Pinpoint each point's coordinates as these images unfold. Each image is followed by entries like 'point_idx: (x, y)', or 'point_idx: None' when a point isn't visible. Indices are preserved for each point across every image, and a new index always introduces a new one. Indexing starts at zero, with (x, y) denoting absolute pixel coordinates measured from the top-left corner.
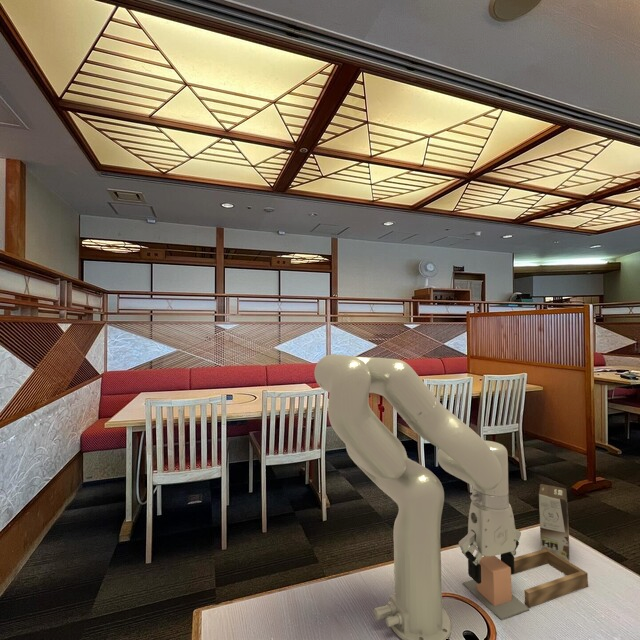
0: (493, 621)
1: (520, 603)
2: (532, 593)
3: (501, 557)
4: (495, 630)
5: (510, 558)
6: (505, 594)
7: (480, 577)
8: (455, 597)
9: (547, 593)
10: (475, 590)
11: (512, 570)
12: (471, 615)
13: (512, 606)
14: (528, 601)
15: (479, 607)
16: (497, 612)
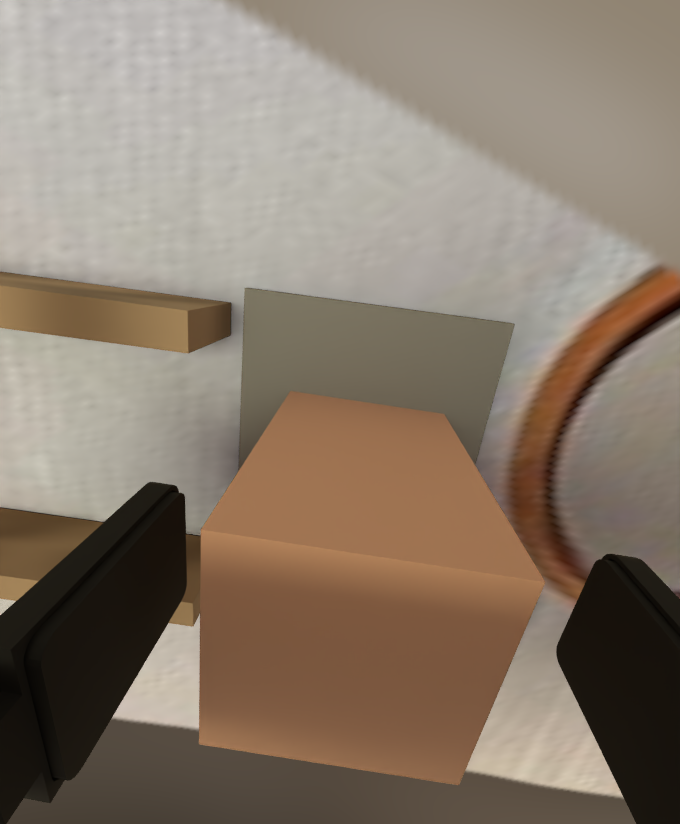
0: (562, 343)
1: (262, 347)
2: (146, 303)
3: (133, 671)
4: (631, 288)
5: (65, 636)
6: (341, 418)
7: (667, 601)
8: (569, 560)
9: (3, 278)
10: None
11: (153, 507)
12: (631, 438)
13: (338, 356)
14: (216, 308)
15: (523, 454)
16: (478, 372)
